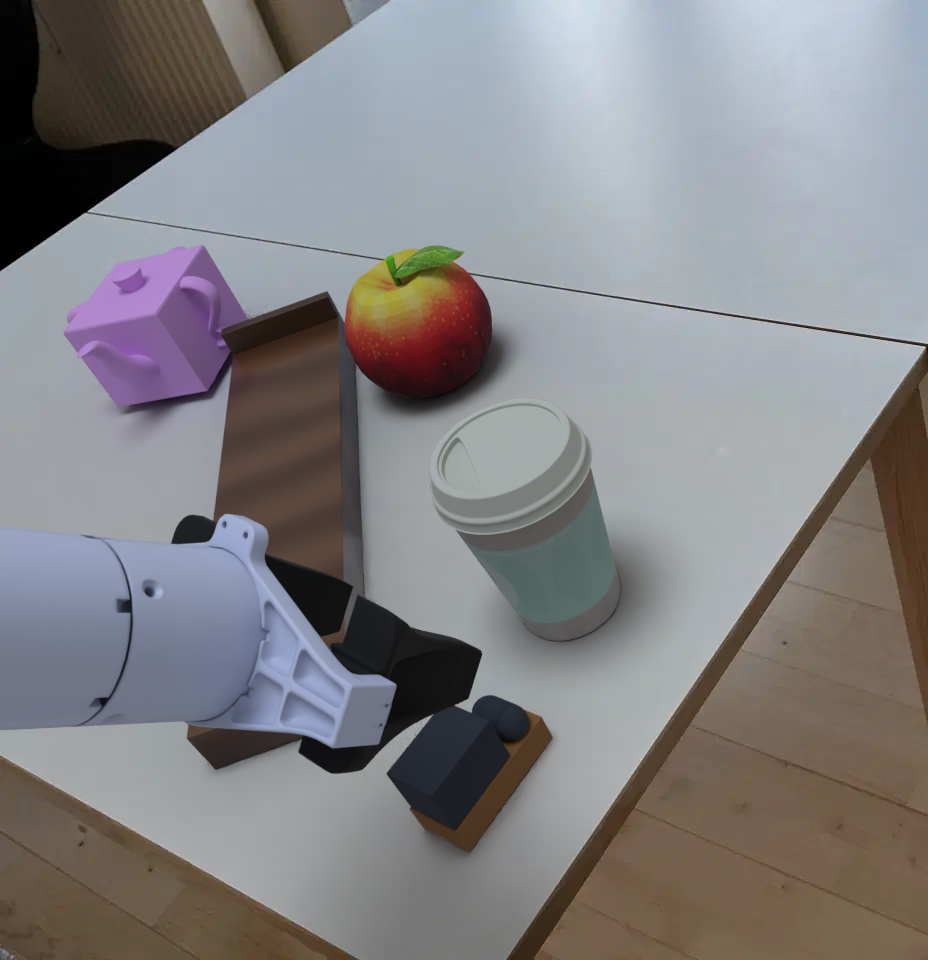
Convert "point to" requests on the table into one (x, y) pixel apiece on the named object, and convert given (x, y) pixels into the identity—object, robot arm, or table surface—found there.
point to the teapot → (156, 326)
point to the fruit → (418, 323)
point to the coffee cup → (529, 513)
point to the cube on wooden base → (468, 766)
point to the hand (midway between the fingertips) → (402, 638)
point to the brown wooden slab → (291, 463)
